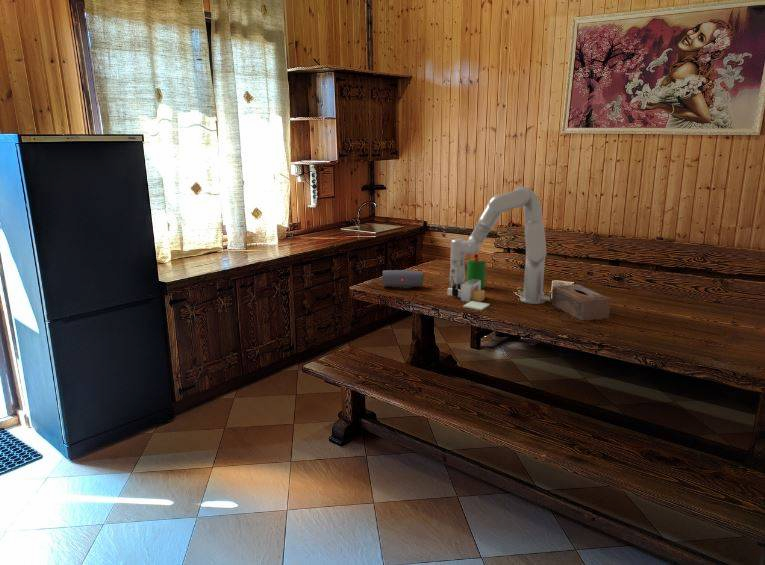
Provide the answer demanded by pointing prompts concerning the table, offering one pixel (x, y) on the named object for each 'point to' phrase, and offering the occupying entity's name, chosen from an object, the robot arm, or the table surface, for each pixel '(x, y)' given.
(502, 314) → the table surface
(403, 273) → the bluetooth speaker
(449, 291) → the push rod
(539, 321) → the table surface
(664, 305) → the table surface
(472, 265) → the motor
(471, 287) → the housing
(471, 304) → the mat
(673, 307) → the table surface
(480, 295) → the plug block
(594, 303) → the tissue box cover
